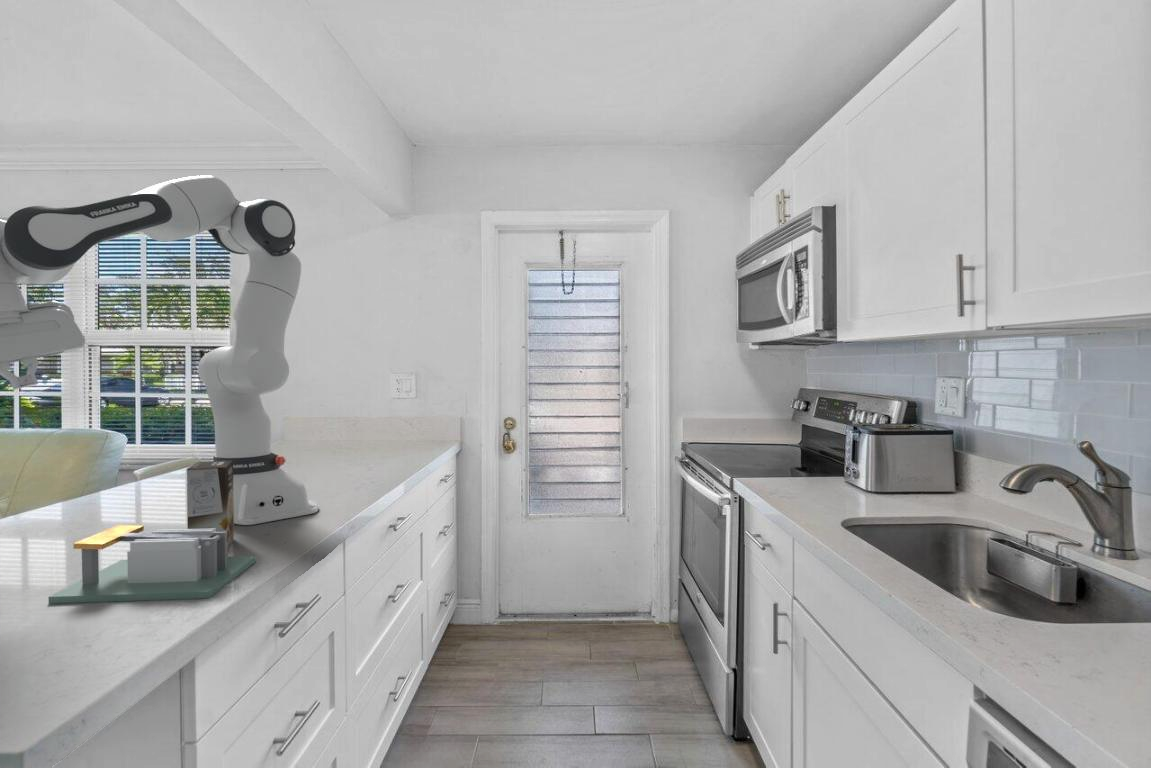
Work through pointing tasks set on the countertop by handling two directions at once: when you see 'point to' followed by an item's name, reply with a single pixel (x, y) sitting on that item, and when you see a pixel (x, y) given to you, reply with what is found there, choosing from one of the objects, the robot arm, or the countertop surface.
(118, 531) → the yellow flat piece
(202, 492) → the coffee box
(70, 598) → the heatsink board
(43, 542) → the countertop surface
